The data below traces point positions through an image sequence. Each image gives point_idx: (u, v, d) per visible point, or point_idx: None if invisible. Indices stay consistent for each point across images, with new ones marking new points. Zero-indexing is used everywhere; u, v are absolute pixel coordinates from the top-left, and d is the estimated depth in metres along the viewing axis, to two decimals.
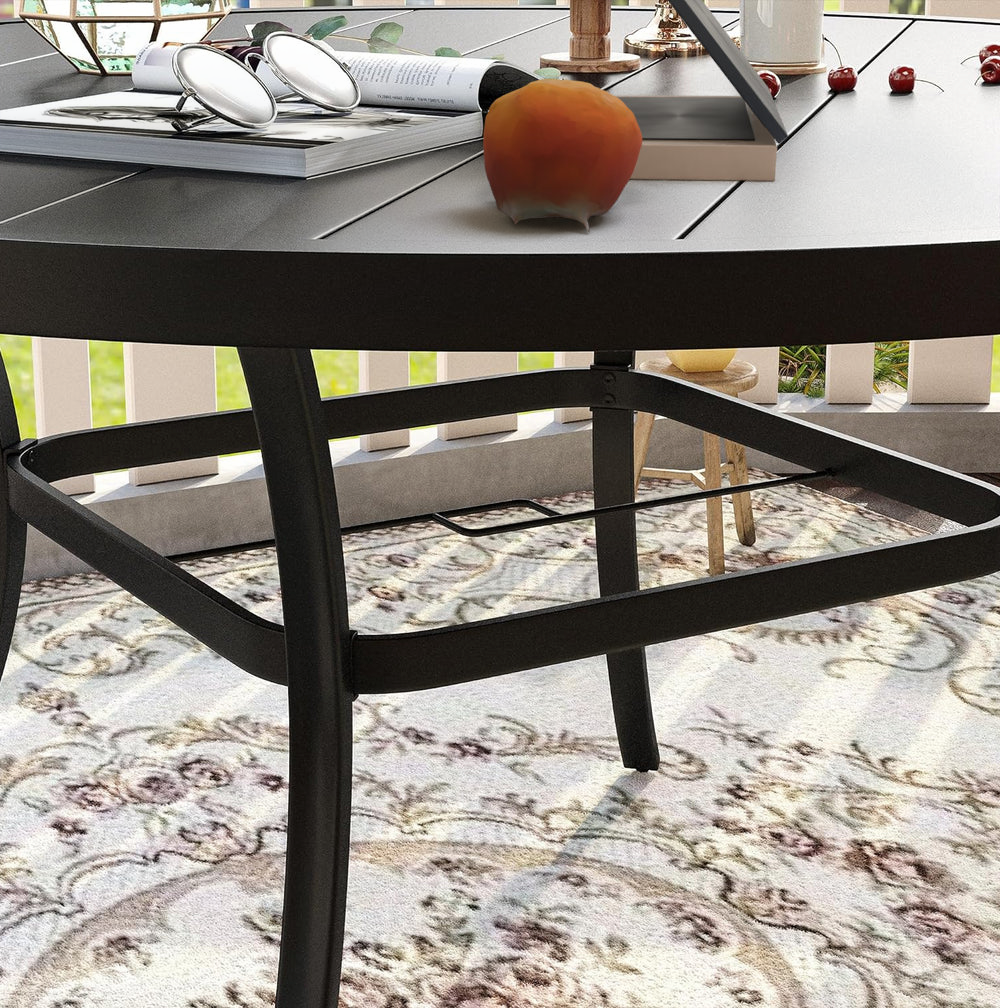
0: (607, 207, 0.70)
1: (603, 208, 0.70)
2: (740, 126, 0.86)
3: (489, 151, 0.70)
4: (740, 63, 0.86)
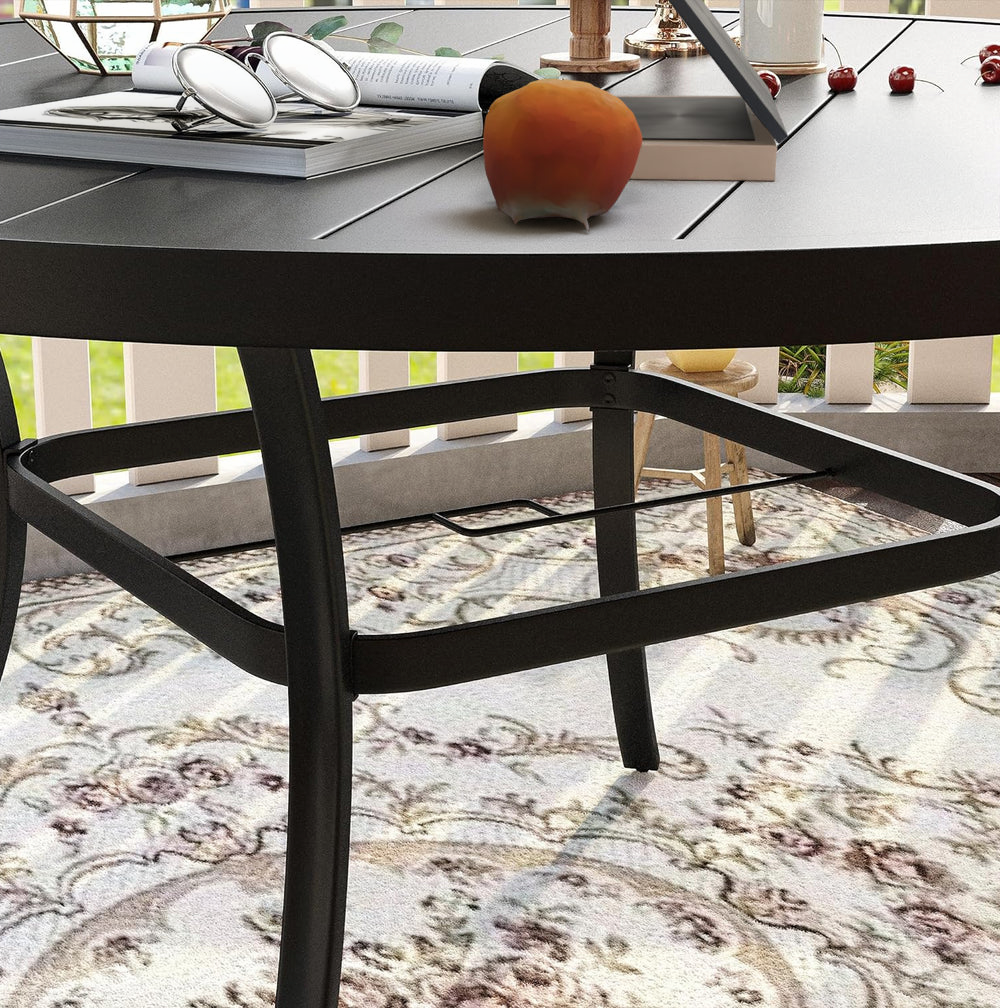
0: (607, 207, 0.70)
1: (603, 208, 0.70)
2: (740, 126, 0.86)
3: (489, 151, 0.70)
4: (740, 63, 0.86)
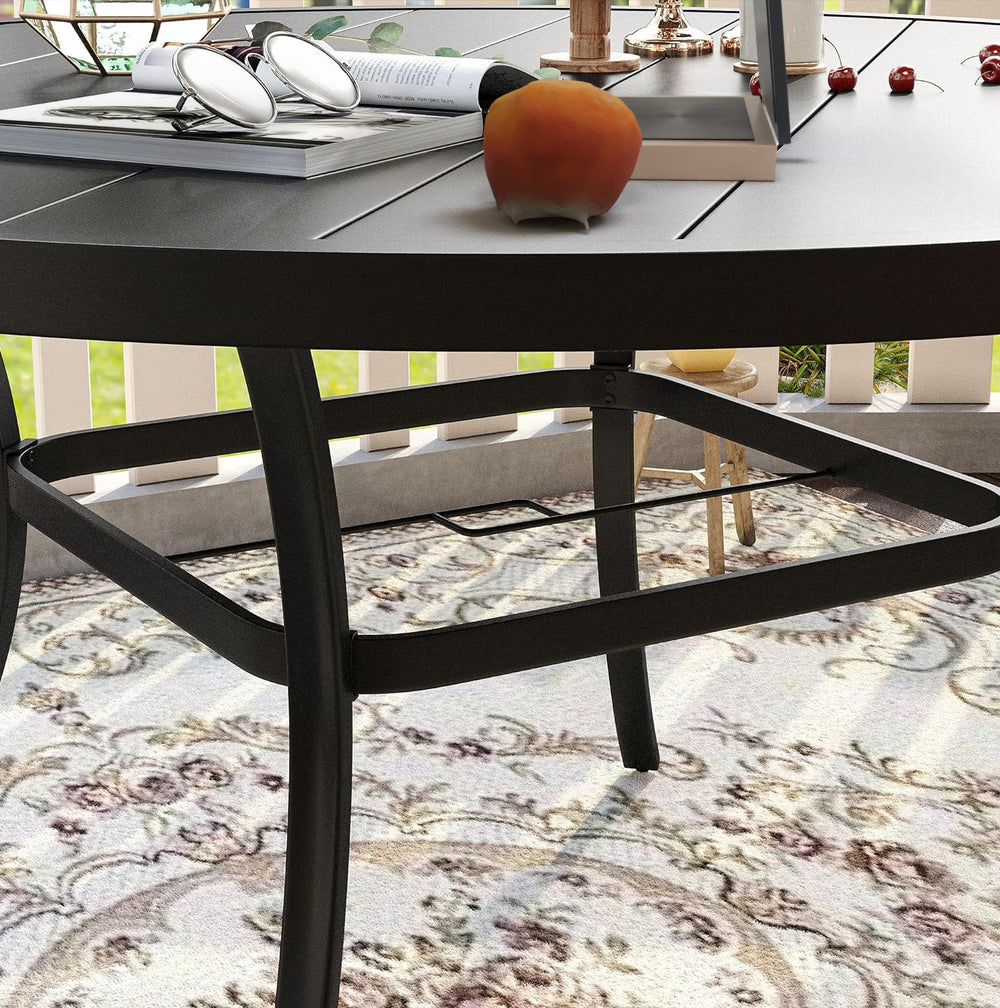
0: (607, 207, 0.70)
1: (603, 208, 0.70)
2: (740, 126, 0.86)
3: (489, 151, 0.70)
4: None
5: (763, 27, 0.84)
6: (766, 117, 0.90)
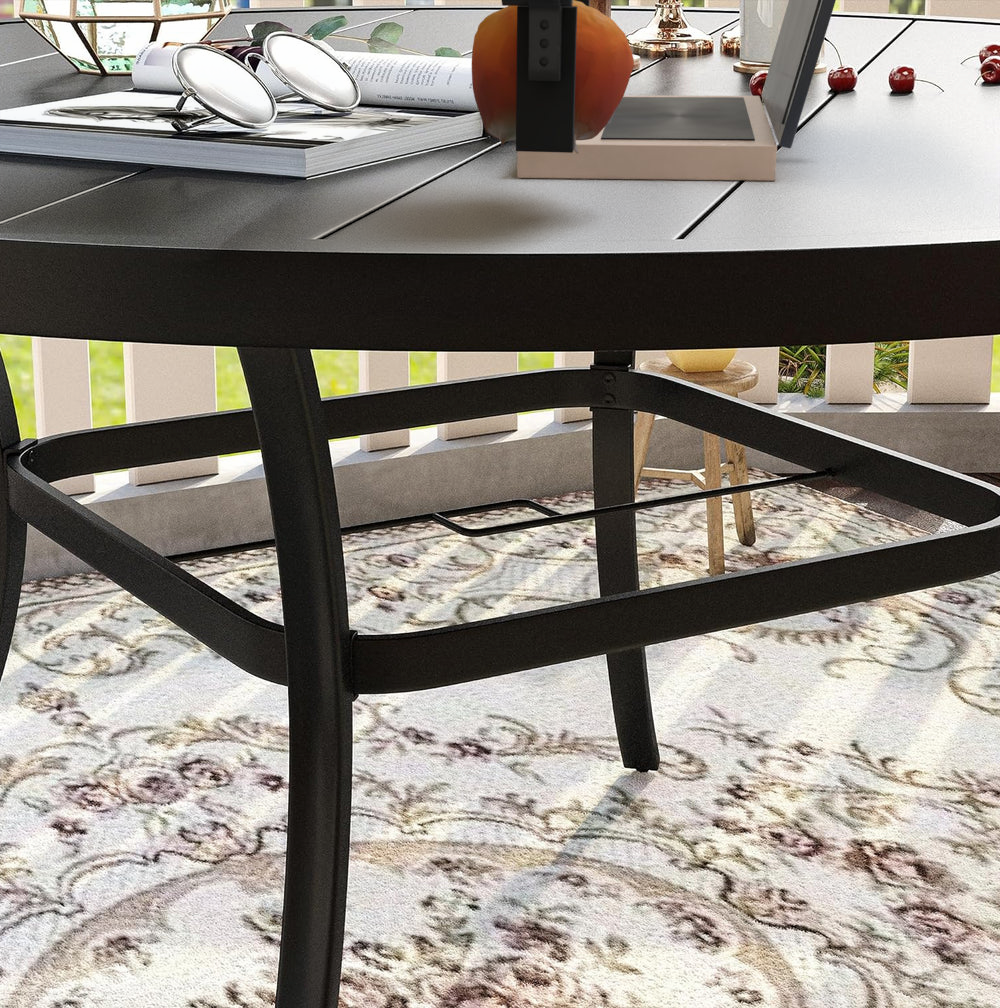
0: (596, 130, 0.69)
1: (592, 130, 0.68)
2: (740, 126, 0.86)
3: (477, 70, 0.68)
4: None
5: (800, 29, 0.84)
6: (766, 117, 0.90)
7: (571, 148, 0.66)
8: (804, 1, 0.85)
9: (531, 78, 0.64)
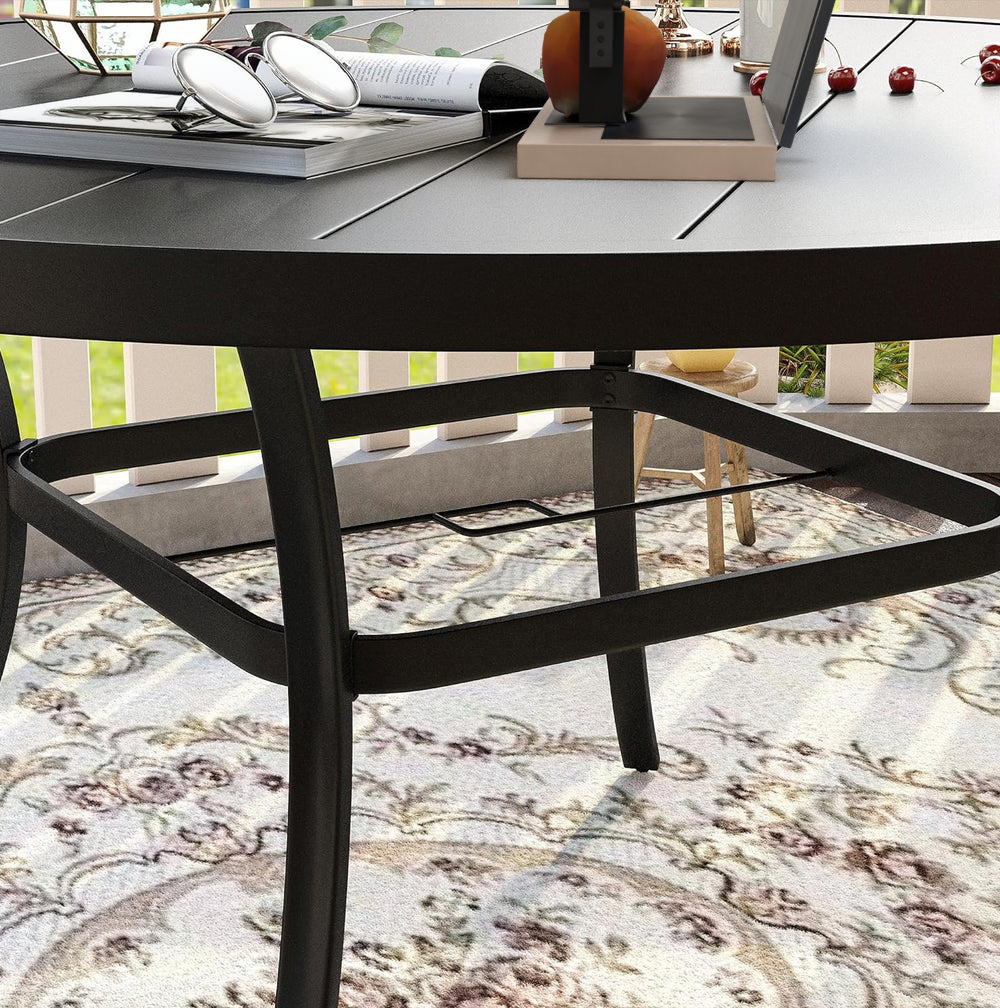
0: (640, 104, 0.89)
1: (637, 104, 0.89)
2: (740, 126, 0.86)
3: (547, 60, 0.89)
4: None
5: (800, 29, 0.84)
6: (766, 117, 0.90)
7: (621, 119, 0.87)
8: (804, 1, 0.85)
9: (591, 65, 0.85)
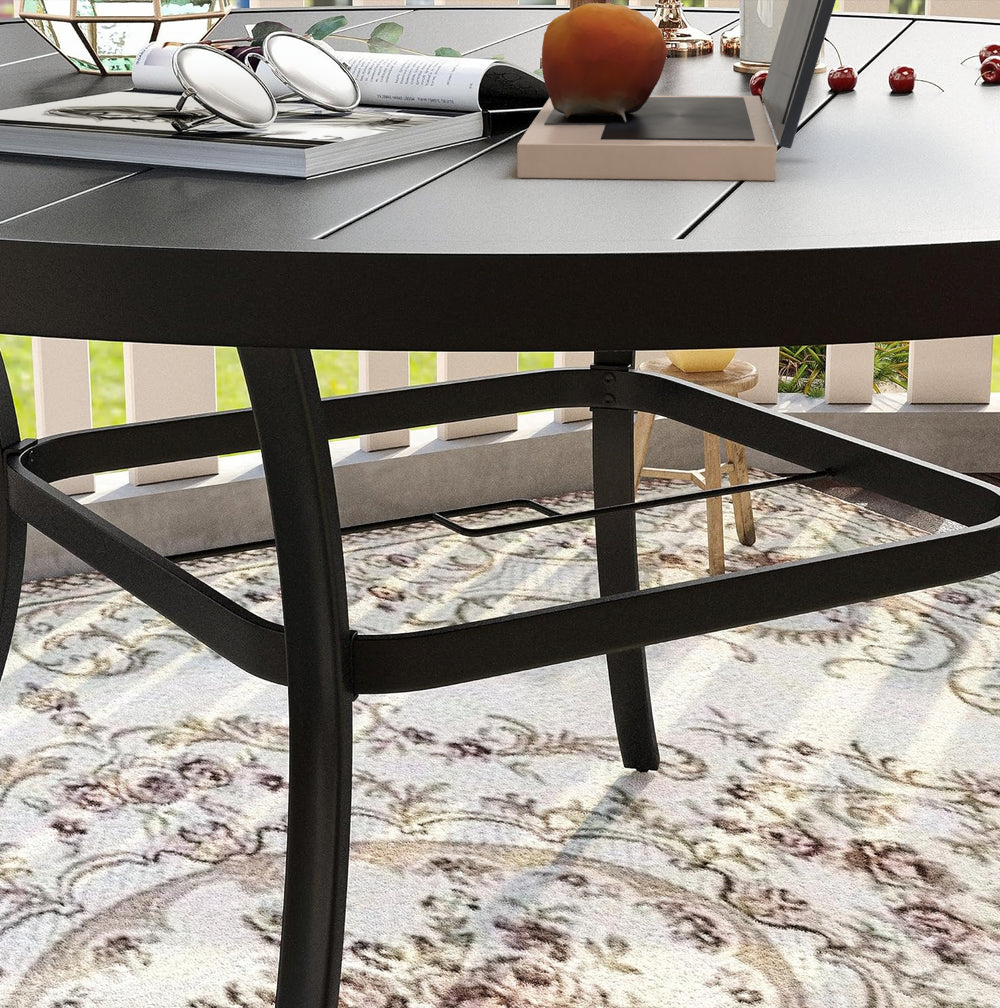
0: (640, 104, 0.89)
1: (637, 104, 0.89)
2: (740, 126, 0.86)
3: (547, 60, 0.89)
4: None
5: (800, 29, 0.84)
6: (766, 117, 0.90)
7: None
8: (804, 1, 0.85)
9: None
